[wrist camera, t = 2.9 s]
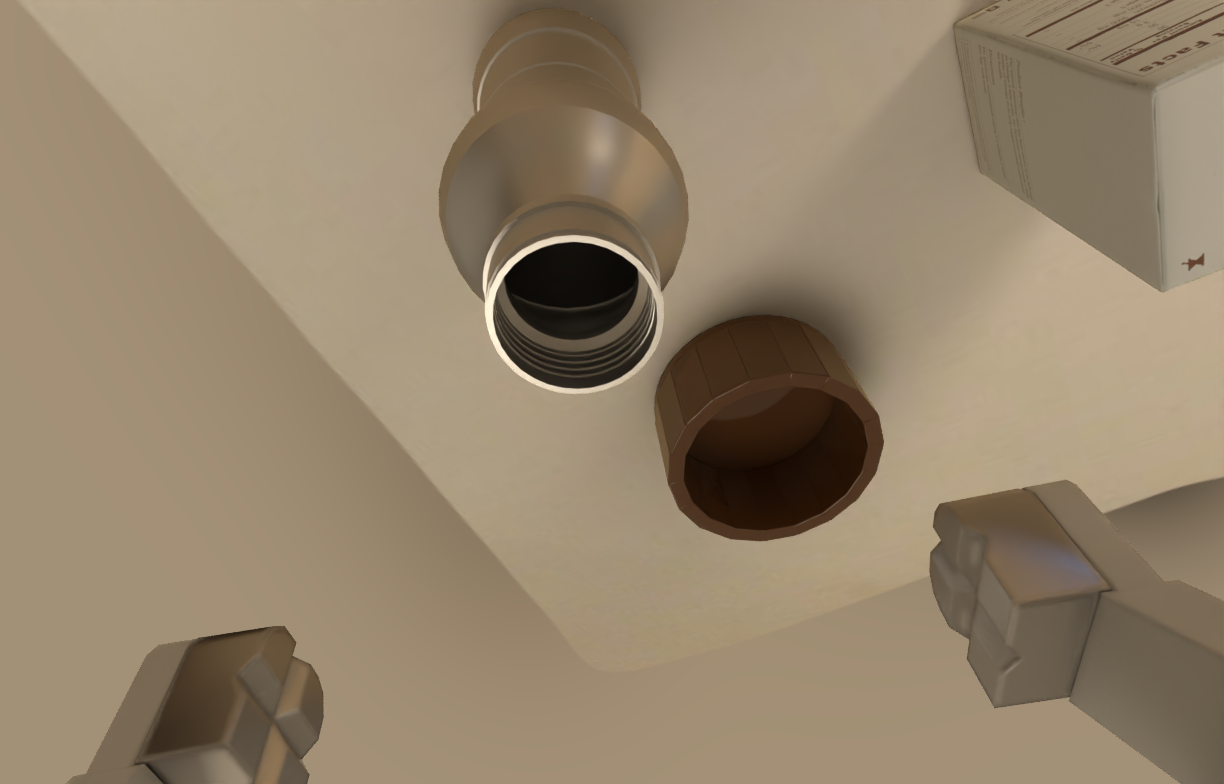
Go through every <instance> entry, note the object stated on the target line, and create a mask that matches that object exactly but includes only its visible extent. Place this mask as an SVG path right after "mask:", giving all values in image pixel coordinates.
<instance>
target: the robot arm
mask: <svg viewBox="0 0 1224 784" xmlns="http://www.w3.org/2000/svg"><path fill="white" fill-rule="evenodd" d="M933 528H934V529H935V531H936V533H937V534H938V536H939V538H940V539H941V541H940V542H939V543H938V545H937V546H936V547H935V548H934V549H933V550H932V551H931V552H930V570H929V572H930V577H931V582H932V587H933V592H934V595H935V598H936V600H937V603H938V606H939V608H940V611H941V612H942V614H943V616H944V618H945V620H946V622H947V624H948V626H949V627H950V628H951V629H953V630H955V631H956V632H958V633H960V634H961V635H963V636H965V637H966V638H968V639H969V647H968V654H967V660H968V662H969V663H970V665H971V667H972V669H973V670H974V672H975V674H976V676H977V678H978V680H979V681H980V683H981V685H982V686H983V688H984V690H985V692H986V694H987V695H988V697H989V699H990V701H991V703H992V704H993V706H994V708H998V707H1006V706H1012V705H1019V704H1026V703H1033V702H1040V701H1046V700H1053V699H1060V698H1067V697H1070V699H1069V701H1070V702H1071V703H1072V704H1074V705H1075V706H1077V707H1078V708H1079V709H1080V710H1082V711H1083V712H1085V713H1086V714H1087V715H1089V716H1090V717H1091V718H1093V719H1094V720H1095V721H1097V722H1098V723H1100V724H1101V725H1103V726H1104V727H1105V728H1106V729H1108V730H1109V731H1111V732H1112V733H1113V734H1114V735H1116V736H1117V737H1119V738H1120V739H1121V740H1122V741H1124V742H1126V743H1127V744H1128V745H1129V746H1131V747H1132V748H1133V749H1135V750H1136V751H1138V752H1139V753H1140V754H1142V755H1143V756H1144V757H1145V758H1147V759H1148V760H1150V761H1151V762H1152V763H1154V764H1155V765H1156V766H1158V767H1159V768H1160V769H1162V770H1163V771H1164V772H1166V773H1167V774H1168V775H1170V776H1171V777H1173V778H1174V779H1175V780H1177V781H1178V782H1179V783H1181V784H1224V601H1223V600H1221V599H1219V598H1216V597H1214V596H1212V595H1210V594H1208V593H1206V592H1204V591H1202V590H1199V589H1197V588H1195V587H1193V586H1191V585H1188V584H1186V583H1184V582H1182V581H1180V580H1173V581H1166V582H1164V581H1163V580H1162V578H1161V577H1160V576H1159V575H1158V574H1157V573H1156V572H1155V571H1154V570H1153V569H1152V567H1151V566H1150V565H1149V564H1148V563H1147V562H1146V561H1145V560H1144V559H1143V558H1142V556H1140V554H1139V553H1138V552H1137V551H1136V550H1135V549H1134V548H1133V547H1132V546H1131V544H1130V543H1129V542H1128V541H1127V540H1126V539H1125V538H1124V537H1123V536H1122V534H1121V533H1120V532H1119V531H1118V530H1117V529H1116V528H1115V527H1114V526H1113V525H1112V523H1111V522H1110V521H1109V520H1108V519H1107V518H1106V517H1105V516H1104V515H1103V514H1102V512H1101V511H1100V510H1099V509H1098V508H1097V507H1096V506H1095V505H1094V504H1093V503H1092V501H1091V500H1090V499H1089V498H1088V497H1087V496H1086V495H1085V494H1084V493H1083V492H1082V490H1081V489H1080V488H1079V487H1078V486H1077V485H1076V484H1074V483H1072V482H1070V481H1068V480H1062V481H1056V482H1051V483H1046V484H1041V485H1035V486H1030V487H1025V488H1022V489H1012V490H1007V491H1002V492H997V493H992V494H987V495H982V496H976V497H971V498H966V499H961V500H956V501H951V502H945V503H940V504H939V506H938V507H937V509H936V511H935V514H934V523H933ZM295 646H296V641H295V640H294V639H293V637H292V636H291V634H290V633H289V632H288V630H287V629H286V627H285V626H272V627H266V628H259V629H253V630H246V631H240V632H233V633H227V634H221V635H214V636H208V637H202V638H197V639H192V640H186V641H180V642H174V643H168V644H162V645H158V646H157V647H156V648H155V649H153V650H152V651H151V652H150V653H149V654H148V655H147V656H146V657H145V659H144V661H143V663H142V665H141V667H140V669H139V671H138V673H137V675H136V677H135V679H134V681H133V683H132V685H131V687H130V689H129V691H128V692H127V694H126V697H125V699H124V701H123V702H122V704H121V706H120V708H119V710H118V712H117V714H116V717H115V718H114V720H113V722H112V724H111V726H110V728H109V730H108V732H107V734H106V736H105V738H104V740H103V742H102V744H101V746H100V748H99V749H98V751H97V753H96V755H95V757H94V759H93V761H92V763H91V765H90V767H89V769H88V771H87V773H86V774H83V775H78V776H74V777H72V778H71V779H70V780H69V781H68V782H67V783H66V784H307V782H308V778H309V773H308V771H307V769H306V767H305V765H304V763H303V761H302V758H303V757H304V756H305V755H306V754H307V752H308V751H309V750H310V749H311V748H312V746H313V745H314V744H315V743H316V742H317V741H318V739H319V734H320V730H321V726H322V722H323V716H324V715H323V691H322V687H321V684H320V681H319V677H318V675H317V674H316V672H315V670H314V669H313V667H312V666H311V664H309V663H307V662H304V661H302V660H300V659H298V658H296V657H294V656H292V655H293V652H294V649H295Z"/></svg>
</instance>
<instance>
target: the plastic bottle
mask: <svg viewBox="0 0 1224 784" xmlns="http://www.w3.org/2000/svg"><path fill="white" fill-rule="evenodd" d="M473 105H474V110H475V114H474V115H473V116H472V117H471V119H470V120H469V122H468V123H467V124H466V126H465V127H464V129H463V130H462V131H461V133H460V134H459V136H458V137H457V139H456V141H455V142H454V144H453V146H452V148H451V150H450V153H449V155H448V157H447V160H446V162H445V164H444V167H443V171H442V177H441V182H440V187H439V217H440V221H441V226H442V230H443V234H444V239H445V241H446V244H447V246H448V248H449V250H450V253H451V255H452V257H453V259H454V262H455V264H456V266H457V268H458V270H459V272H460V273H461V275H462V276H463V278H464V279H465V281H466V282H467V284H468V285H469V286H470V288H471V289H472V291H473V292H474V293H475V294H476V295H477V296H478V297H479V298H480V299H481V300H482V301H483V302H484V303H485V317H486V322H487V327H488V331H489V335H490V337H491V340H492V342H493V344H494V346H495V349H496V350H497V352H498V353H499V355H500V356H501V357H502V359H503V360H504V362H505V363H506V364H507V365H508V366H509V367H510V368H511V369H512V370H514V371H515V372H516V373H517V374H518V375H520V376H521V377H523V378H524V379H526V380H527V381H529V382H530V383H533V384H535V385H537V386H540V387H542V388H544V389H548V390H552V391H556V392H560V393H570V394H584V393H594V392H598V391H602V390H606V389H609V388H612V387H614V386H616V385H618V384H620V383H623V382H624V381H626V380H627V379H629V378H630V377H632V376H633V375H634V374H636V373H637V372H638V371H639V370H640V369H641V368H642V367H643V366H644V365H645V364H646V363H647V362H648V360H649V359H650V357H651V356H652V354H653V353H654V351H655V350H656V348H657V345H658V343H659V340H660V337H661V335H662V329H663V322H664V302H663V296H662V293H661V292H662V291H663V290H664V288H665V286H666V285H667V283H668V282H669V280H670V278H671V277H672V275H673V273H674V271H675V268H676V266H677V263H678V260H679V258H680V255H681V252H682V249H683V246H684V243H685V238H686V232H687V226H688V221H689V213H688V194H687V190H686V185H685V181H684V177H683V173H682V170H681V168H680V166H679V164H678V161H677V159H676V157H675V155H674V153H673V151H672V149H671V147H670V146H669V145H668V143H667V142H666V140H665V139H664V138H663V136H662V135H661V134H660V132H659V131H658V130H657V128H656V127H655V126H654V124H653V123H652V122H651V120H649V119H648V118H647V117H646V116H645V115H644V114H643V113H642V112H641V95H640V86H639V82H638V78H637V74H636V70H635V68H634V66H633V64H632V62H631V59H630V57H629V55H628V53H627V52H626V51H625V49H624V48H623V46H622V45H621V43H620V42H619V41H618V39H617V38H616V37H615V36H613V35H612V34H611V33H610V32H609V31H608V30H607V29H606V28H605V27H604V26H602V25H601V24H599V23H598V22H596V21H594V20H593V19H591V18H590V17H587V16H585V15H582V14H579V13H577V12H574V11H570V10H563V9H557V8H551V9H537V10H534V11H531V12H527V13H524V14H521V15H519V16H517V17H516V18H514V19H512V20H510V21H509V22H507V23H505V24H504V25H503V26H502V27H501V28H500V29H499V30H498V31H497V32H496V33H495V34H494V35H493V36H492V37H491V39H490V40H489V41H488V43H487V44H486V46H485V47H484V49H483V51H482V53H481V55H480V58H479V60H478V63H477V65H476V69H475V74H474V79H473Z"/></svg>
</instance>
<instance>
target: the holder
mask: <svg viewBox="0 0 1224 784" xmlns="http://www.w3.org/2000/svg"><path fill="white" fill-rule="evenodd" d="M654 410H655V425H656V430H657V435H658V439H659V444H660V449H661V453H662V458H663V463H664V467H665V472H666V476H667V481H668V485H669V487H670V490H671V492H672V494H673V497H674V499H675V501H676V504H677V506H678V508H679V510H680V511H682V512H683V513H684V514H685V515H686V516H687V517H688V518H689V519H691V520H692V521H693V522H694V523H695V524H696V525H697V526H698V527H700V528H702V529H705V530H708V531H710V532H713V533H715V534H718V535H721V536H723V537H726V538H730V539H735V540H749V541H768V540H773V539H779V538H784V537H790V536H795V535H797V534H801V533H803V532H805V531H808V530H810V529H812V528H814V527H817V526H819V525H821V524H823V523H826V522H828V521H829V520H832V519H833V518H834V517H836V516H837V515H838V514H839V513H841V512H842V511H843V510H845V509H846V508H847V507H848V506H850V505H851V504H852V503H853V502H855V501H856V500H857V499H858V498H859V497H860V495H861V494H862V492H863V491H864V490H865V488H866V487H867V485H868V484H869V483H870V481H871V480H872V478H873V477H874V475H875V474H876V471H877V468H878V464H879V460H880V457H881V453H882V449H883V445H884V444H883V443H884V440H883V434H882V429H881V424H880V418H879V415H878V413H877V411H876V410H875V408H874V406H873V405H872V403H871V402H870V400H869V399H868V397H867V395H866V394H865V392H864V391H863V389H862V387H861V386H860V384H859V383H858V381H857V379H856V378H855V376H854V375H853V373H852V372H851V370H850V368H849V367H848V365H847V364H846V362H845V360H844V359H843V358H842V357H841V355H840V354H839V353H838V352H837V350H836V349H835V347H834V346H833V344H832V343H831V342H830V341H829V340H828V339H827V338H826V337H825V336H824V335H823V334H822V333H820V332H819V331H818V330H816V329H815V328H813V327H811V326H809V325H807V324H805V323H802V322H800V321H797V320H794V319H790V318H786V317H780V316H770V315H767V316H750V317H743V318H739V319H735V320H731V321H728V322H725V323H723V324H720V325H717V326H715V327H713V328H711V329H709V330H707V331H705V332H704V333H702V334H700V335H699V336H697V337H696V338H694V339H693V340H692V341H691V342H689V343H688V344H687V345H686V346H684V347H683V348H682V349H681V350H680V351H679V353H678V354H677V355H676V356H675V357H674V358H673V359H672V361H671V362H670V363H669V365H668V366H667V368H666V370H665V372H664V373H663V375H662V377H661V380H660V382H659V385H658V387H657V392H656V396H655V406H654Z"/></svg>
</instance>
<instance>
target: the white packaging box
mask: <svg viewBox="0 0 1224 784" xmlns="http://www.w3.org/2000/svg"><path fill="white" fill-rule="evenodd" d="M954 32H955V38H956V44H957V50H958V56H959V61H960V66H961V72H962V77H963V82H964V88H965V93H966V98H967V103H968V109H969V114H970V119H971V125H972V130H973V135H974V140H975V145H976V151H977V156H978V161H979V166H980V172H981V174H983V175H985V176H987V177H988V178H990V179H991V180H993V181H994V182H996V183H997V184H999V185H1000V186H1002V187H1003V188H1005V189H1006V190H1008V191H1009V192H1011V193H1012V194H1014V195H1015V196H1017V197H1018V198H1020V199H1021V200H1023V201H1024V202H1026V203H1027V204H1029V205H1030V206H1032V207H1033V208H1035V209H1036V210H1038V211H1039V212H1041V213H1042V214H1044V215H1045V216H1047V217H1048V218H1050V219H1051V220H1053V221H1054V222H1056V223H1057V224H1059V225H1060V226H1062V227H1063V228H1065V229H1066V230H1068V231H1069V232H1071V233H1072V234H1074V235H1076V236H1077V237H1079V238H1080V239H1082V240H1083V241H1085V242H1086V243H1088V244H1089V245H1091V246H1092V247H1094V248H1095V249H1097V250H1098V251H1100V252H1101V253H1103V254H1104V255H1106V256H1107V257H1109V258H1110V259H1112V260H1113V261H1115V262H1116V263H1118V264H1119V265H1121V266H1122V267H1124V268H1125V269H1127V270H1128V271H1130V272H1131V273H1133V274H1134V275H1136V276H1137V277H1139V278H1140V279H1142V280H1143V281H1145V282H1146V283H1148V284H1149V285H1151V286H1152V287H1154V288H1155V289H1157V290H1158V291H1160V292H1165V291H1167V290H1170V289H1172V288H1174V287H1177V286H1180V285H1183V284H1185V283H1188V282H1191V281H1194V280H1196V279H1199V278H1201V277H1204V276H1206V275H1209V274H1211V273H1214V272H1217V271H1219V270H1222V269H1224V0H1000V1H998V2H997V3H995V4H993V5H990V6H988V7H986V8H984V9H983V10H981V11H979V12H976V13H974V14H972V15H970V16H968V17H966V18H964V19H962V20H960V21H958V22H957V23H955V24H954Z"/></svg>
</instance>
